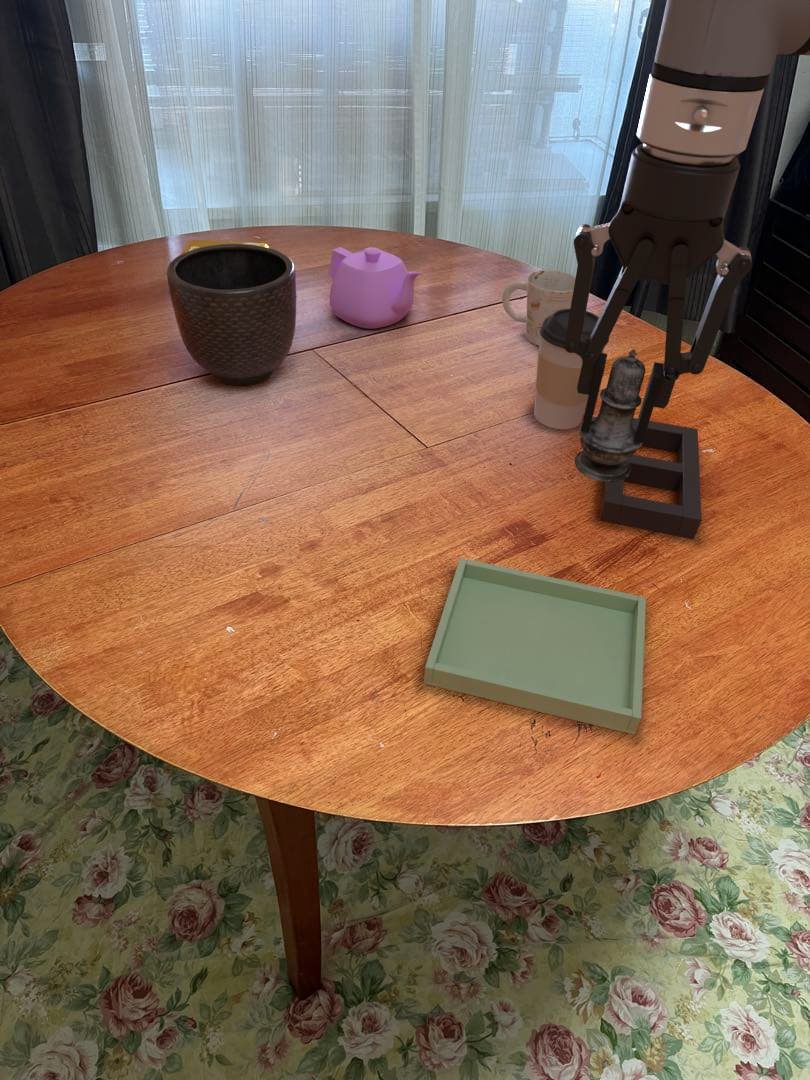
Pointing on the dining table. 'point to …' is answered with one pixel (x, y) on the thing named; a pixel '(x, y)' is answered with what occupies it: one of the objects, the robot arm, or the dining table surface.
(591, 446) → the dark grey chess piece
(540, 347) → the coffee cup
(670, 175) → the robot arm
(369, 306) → the teapot
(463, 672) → the tray
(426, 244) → the dining table surface
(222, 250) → the planter
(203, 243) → the element tile
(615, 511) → the rack
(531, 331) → the mug
